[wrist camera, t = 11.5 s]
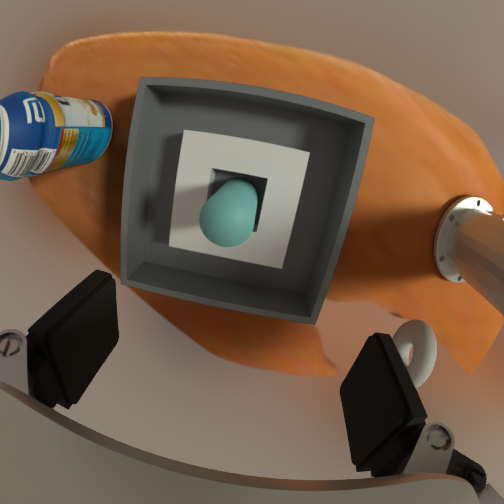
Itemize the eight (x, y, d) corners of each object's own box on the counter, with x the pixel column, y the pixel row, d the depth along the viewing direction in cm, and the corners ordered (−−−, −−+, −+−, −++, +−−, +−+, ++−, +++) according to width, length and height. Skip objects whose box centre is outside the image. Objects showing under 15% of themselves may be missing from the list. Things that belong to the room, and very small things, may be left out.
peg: (247, 170, 28) (238, 183, 19) (264, 203, 29) (263, 233, 20) (213, 187, 29) (189, 209, 20) (231, 220, 30) (216, 255, 21)
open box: (355, 122, 26) (374, 117, 21) (308, 296, 34) (315, 324, 29) (162, 87, 26) (140, 77, 20) (141, 262, 34) (120, 284, 28)
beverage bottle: (65, 166, 29) (-57, 203, 11) (66, 105, 26) (-57, 107, 8) (115, 161, 29) (-20, 196, 11) (117, 94, 26) (-16, 72, 8)
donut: (403, 304, 34) (434, 349, 25) (421, 307, 34) (453, 349, 25) (375, 357, 38) (395, 405, 29) (393, 358, 38) (414, 404, 29)
